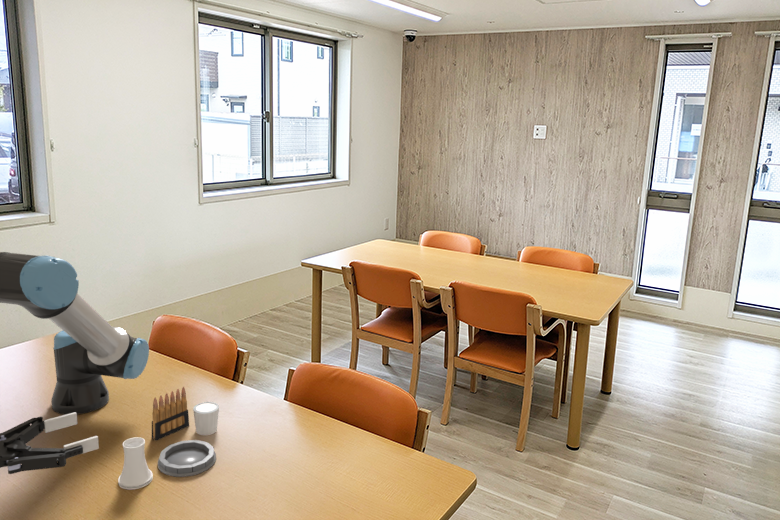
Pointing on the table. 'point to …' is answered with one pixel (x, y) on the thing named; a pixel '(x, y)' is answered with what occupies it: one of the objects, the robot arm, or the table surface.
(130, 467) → the vase
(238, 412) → the table surface
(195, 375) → the table surface
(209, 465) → the socket ring
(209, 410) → the shot glass
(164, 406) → the ammunition clip
